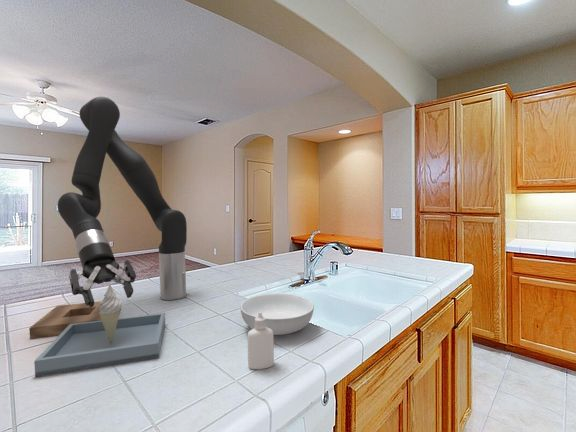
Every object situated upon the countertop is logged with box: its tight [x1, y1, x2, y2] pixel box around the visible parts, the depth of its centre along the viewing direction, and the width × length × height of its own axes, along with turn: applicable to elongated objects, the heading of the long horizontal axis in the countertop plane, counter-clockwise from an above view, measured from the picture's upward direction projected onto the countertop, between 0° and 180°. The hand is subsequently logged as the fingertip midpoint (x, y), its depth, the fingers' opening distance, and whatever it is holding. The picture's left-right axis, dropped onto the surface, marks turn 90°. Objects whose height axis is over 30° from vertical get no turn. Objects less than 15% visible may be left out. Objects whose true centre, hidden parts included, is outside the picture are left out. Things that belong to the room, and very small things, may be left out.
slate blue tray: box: [33, 312, 166, 378], centre depth 77 cm, size 24×20×4 cm
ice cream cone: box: [99, 283, 122, 343], centre depth 77 cm, size 5×5×15 cm
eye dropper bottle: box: [247, 312, 275, 370], centre depth 67 cm, size 4×6×12 cm
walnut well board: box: [29, 301, 102, 340], centre depth 93 cm, size 18×18×3 cm
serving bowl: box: [240, 293, 315, 336], centre depth 87 cm, size 21×21×7 cm
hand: (112, 300), depth 76 cm, fingers open, 8 cm apart
